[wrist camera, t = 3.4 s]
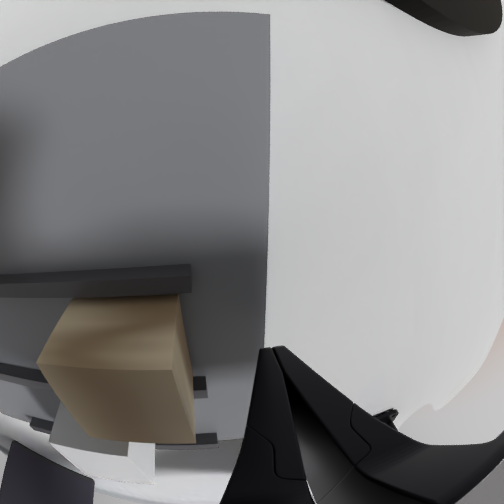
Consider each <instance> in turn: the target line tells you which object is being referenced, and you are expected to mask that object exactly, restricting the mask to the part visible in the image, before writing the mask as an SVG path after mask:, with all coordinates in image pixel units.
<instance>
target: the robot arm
mask: <svg viewBox="0 0 504 504" xmlns="http://www.w3.org/2000/svg"><path fill="white" fill-rule="evenodd" d="M397 415H398V411H397V410H396V409H395V410H392V411H390V412H387V413H385V414H382V415H380V416H377V417H375V418H374V417H373V416H372V415H370V414H369V413H367V412H366V411H364V410H363V409H362V408H360V407H359V406H358V405H356V404H355V403H354V404H353V402H352V401H351V400H350V399H349V398H347V397H346V396H345V395H343V394H342V393H341V392H340V391H338V390H337V389H336V388H335V387H333V386H332V385H331V384H330V383H328V382H327V381H326V380H325V379H323V378H322V377H321V376H320V375H319V374H317V373H316V372H315V371H314V370H312V369H311V368H310V367H309V366H308V365H306V364H305V363H304V362H303V361H302V360H300V359H299V358H298V357H297V356H296V355H294V354H293V353H292V352H291V351H290V350H289V349H287V348H286V347H285V346H276V347H272V348H270V347H268V348H261V349H259V353H258V359H257V365H256V371H255V377H254V383H253V389H252V395H251V400H250V406H249V412H248V417H247V423H246V427H245V433H244V438H243V442H242V446H241V450H240V453H239V456H238V459H237V462H236V465H235V468H234V470H233V473H232V475H231V478H230V480H229V483H228V485H227V487H226V490H225V492H224V495H223V497H222V499H221V501H220V504H315V503H314V501H313V499H312V497H311V494H310V491H309V488H308V484H309V486H310V489H311V491H312V493H313V496H314V498H315V501H316V503H317V504H504V431H503V432H502V433H501V434H500V435H499V436H498V437H497V438H496V439H494V440H492V441H490V442H487V443H483V444H471V445H428V444H424V443H420V442H418V441H416V440H413V439H412V438H410V437H407V436H406V435H404V434H402V433H400V432H398V430H397V428H396V427H395V425H394V423H393V421H394V419H395V418H396V416H397ZM306 480H307V481H308V484H307V481H306Z"/></svg>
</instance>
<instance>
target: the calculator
mask: <svg viewBox="0 0 504 504" xmlns="http://www.w3.org/2000/svg"><path fill="white" fill-rule="evenodd" d="M94 484H95V482H94V480H93V479H91V478H88V477H86V476H83V475H81V474H78V473H76V472H74V471H71V470H69V469H67V468H65V467H62V466H60V465H58V464H56V463H54V462H52V461H50V460H48V459H46V458H44V457H42V456H41V455H39V454H37V453H35V452H33V451H32V450H30V449H28V448H26V447H25V446H23V445H21V444H20V443H18V442H16V441H13V442H12V444H11V447H10V451H9V454H8V458H7V462H6V466H5V470H4V474H3V479H2V484H1V489H0V504H93V496H94Z"/></svg>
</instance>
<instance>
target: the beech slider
mask: <svg viewBox="0 0 504 504" xmlns="http://www.w3.org/2000/svg"><path fill="white" fill-rule="evenodd" d="M36 364H37V365H38V367H39V369H40V370H41V372H42V374H43V375H44V377H45V378H46V380H47V381H48V383H49V384H50V386H51V387H52V389H53V390H54V392H55V393H56V395H57V396H58V398H59V399H60V400H61V402H62V403H63V405H64V406H65V407H66V409H67V410H68V411H69V413H70V414H71V415H72V416H73V418H74V419H75V420H76V421H77V423H78V424H79V425H80V426H81V428H82V429H83V430H84V431H85V432H86V433H87V435H88V436H89V437H91V438H98V439H106V440H114V441H124V442H137V443H158V444H189V443H196V434H195V417H194V395H193V370H192V366H191V361H190V356H189V351H188V346H187V340H186V335H185V329H184V324H183V318H182V312H181V305H180V299H179V294H164V295H144V296H120V297H86V298H73V299H72V300H71V302H70V303H69V305H68V307H67V308H66V310H65V311H64V313H63V315H62V316H61V318H60V320H59V321H58V323H57V325H56V326H55V328H54V330H53V332H52V333H51V335H50V337H49V339H48V341H47V342H46V344H45V346H44V348H43V350H42V352H41V354H40V356H39V358H38V360H37V362H36Z"/></svg>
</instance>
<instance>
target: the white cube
mask: <svg viewBox="0 0 504 504" xmlns="http://www.w3.org/2000/svg"><path fill="white" fill-rule="evenodd" d="M49 443H50V444H51V445H52V446H53V447H54V448H55V449H56V450H57V451H58V452H59V453H60V454H62V455H63V456H64V457H65V458H66V459H67V460H68V461H70V462H71V463H72V464H73V465H74V466H75V467H77V468H78V469H79V470H80V471H82V472H83V473H84V474H85V475H87V476H92V477H97V478H102V479H108V480H114V481H121V482H129V483H138V484H150V485H155V443H137V442H124V441H114V440H106V439H98V438H91V437H89V436H88V435H87V433H86V432H85V431H84V430H83V429H82V428H81V426H80V425H79V424H78V423H77V421H76V420H75V419H74V418H73V416H72V415H71V414H70V413H69V411H68V410H67V409H66V407H65V406H64V405H63V403H62V402H60V405H59V408H58V411H57V414H56V417H55V421H54V424H53V428H52V431H51V435H50V439H49Z"/></svg>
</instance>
